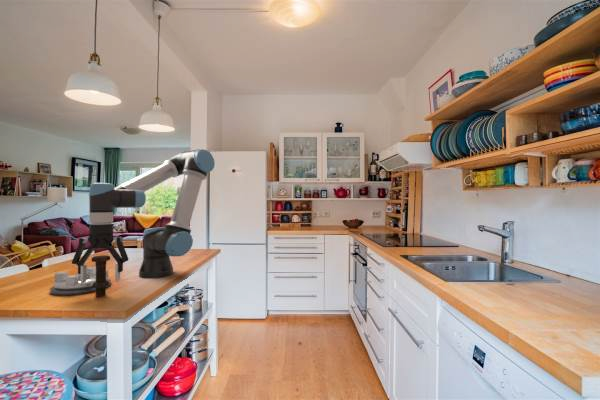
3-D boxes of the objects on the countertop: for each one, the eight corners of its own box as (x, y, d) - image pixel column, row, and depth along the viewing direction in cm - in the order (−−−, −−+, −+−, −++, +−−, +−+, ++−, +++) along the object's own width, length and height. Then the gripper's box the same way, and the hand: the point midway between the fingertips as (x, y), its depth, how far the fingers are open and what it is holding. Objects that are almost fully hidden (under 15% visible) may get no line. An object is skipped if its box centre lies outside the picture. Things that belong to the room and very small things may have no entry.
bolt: (88, 297, 107) (89, 257, 107) (102, 293, 112) (102, 254, 112) (98, 299, 105) (99, 258, 105) (112, 295, 109) (112, 255, 110)
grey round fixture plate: (115, 277, 129) (115, 266, 129) (96, 288, 111) (96, 276, 111) (69, 279, 125) (69, 267, 125) (42, 292, 107) (42, 278, 107)
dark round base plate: (118, 280, 130) (118, 276, 130) (98, 293, 111) (98, 289, 111) (67, 282, 125) (67, 278, 126) (37, 297, 106) (37, 293, 106)
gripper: (138, 222, 115) (137, 277, 114) (71, 223, 109) (70, 280, 109) (131, 223, 107) (131, 282, 107) (60, 224, 102) (59, 286, 102)
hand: (100, 281), depth 108 cm, fingers open, 11 cm apart
